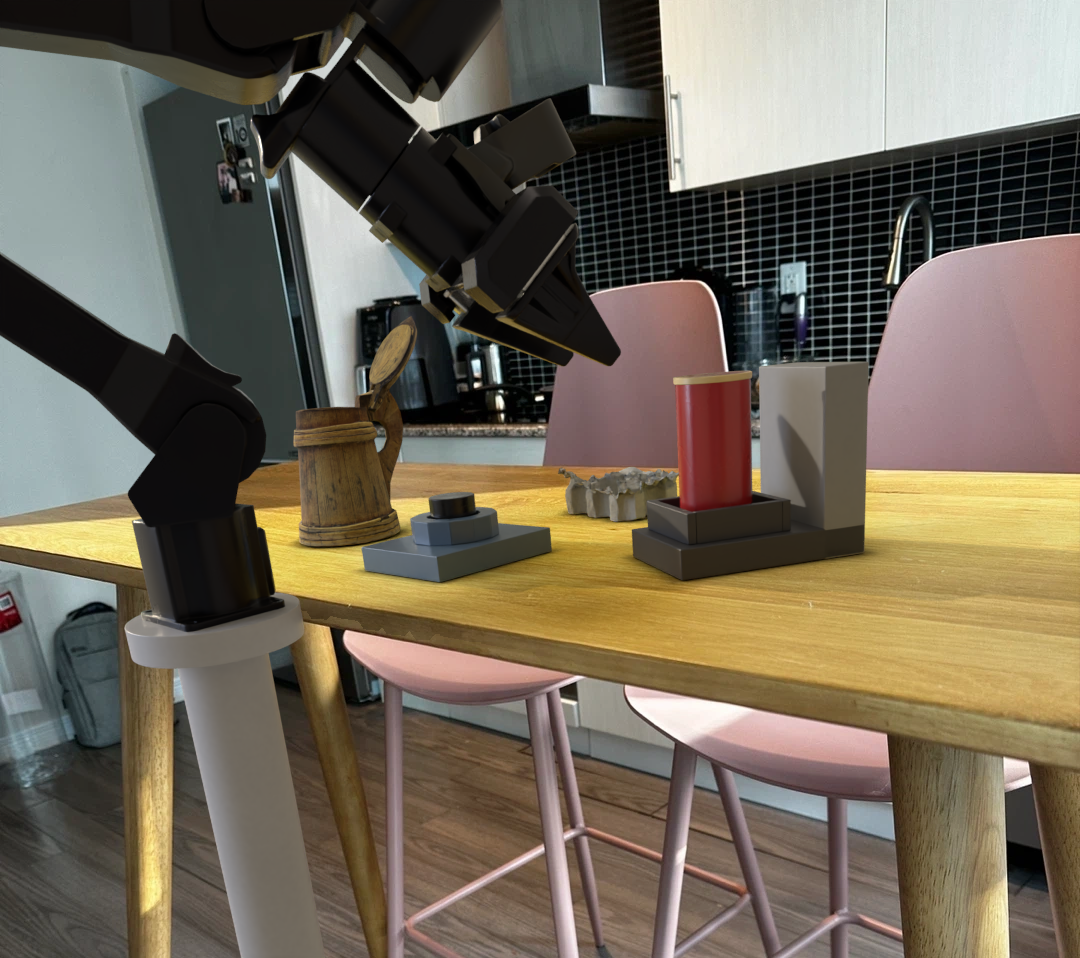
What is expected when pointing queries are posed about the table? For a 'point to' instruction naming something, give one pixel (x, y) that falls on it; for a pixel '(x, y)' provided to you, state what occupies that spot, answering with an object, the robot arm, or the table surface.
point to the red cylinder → (714, 439)
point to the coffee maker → (780, 483)
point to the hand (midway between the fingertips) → (591, 360)
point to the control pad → (455, 546)
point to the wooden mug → (353, 456)
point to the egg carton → (618, 493)
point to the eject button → (452, 505)
